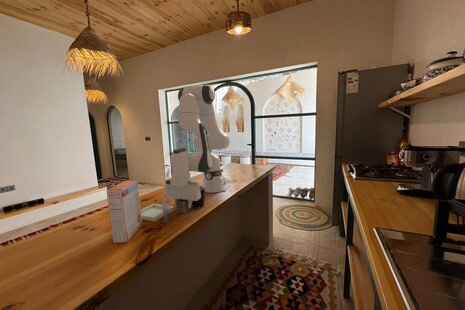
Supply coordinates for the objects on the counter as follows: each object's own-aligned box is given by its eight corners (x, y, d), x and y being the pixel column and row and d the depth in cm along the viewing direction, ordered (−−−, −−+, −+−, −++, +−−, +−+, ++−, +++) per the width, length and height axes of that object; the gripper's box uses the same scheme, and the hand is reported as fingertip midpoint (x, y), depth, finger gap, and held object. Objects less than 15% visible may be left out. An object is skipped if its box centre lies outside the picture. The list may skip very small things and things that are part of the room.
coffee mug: (202, 209, 104) (201, 190, 103) (187, 208, 106) (186, 190, 105) (209, 201, 115) (208, 184, 114) (195, 201, 117) (194, 184, 116)
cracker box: (129, 226, 88) (124, 180, 85) (142, 225, 88) (138, 179, 85) (111, 244, 74) (105, 189, 71) (128, 243, 74) (122, 188, 72)
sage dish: (154, 207, 109) (153, 203, 109) (174, 210, 104) (174, 206, 103) (132, 217, 96) (131, 213, 96) (154, 222, 91) (154, 217, 91)
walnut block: (182, 208, 106) (181, 197, 106) (191, 209, 104) (190, 198, 103) (176, 212, 101) (175, 200, 101) (184, 213, 99) (184, 202, 99)
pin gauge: (165, 220, 92) (164, 195, 91) (169, 221, 91) (167, 195, 90) (162, 222, 90) (160, 196, 89) (166, 223, 90) (164, 197, 88)
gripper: (202, 180, 100) (203, 207, 101) (170, 178, 108) (171, 202, 109) (195, 183, 94) (197, 211, 96) (161, 180, 102) (163, 206, 104)
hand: (183, 206), depth 102 cm, fingers closed on walnut block, 5 cm apart
